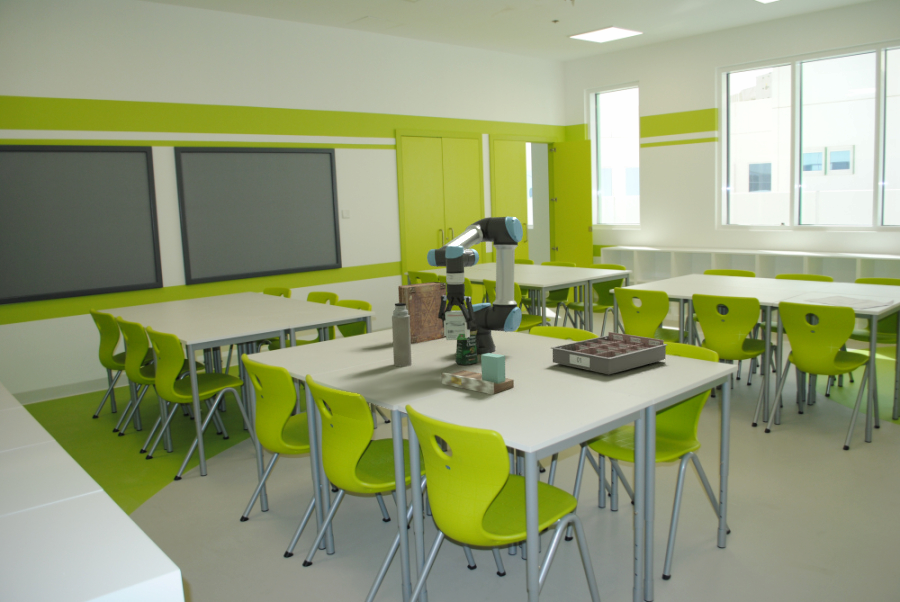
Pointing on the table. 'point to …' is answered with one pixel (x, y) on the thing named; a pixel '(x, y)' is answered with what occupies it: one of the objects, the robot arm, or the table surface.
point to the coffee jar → (467, 348)
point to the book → (423, 309)
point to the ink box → (455, 325)
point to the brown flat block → (475, 382)
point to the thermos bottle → (401, 335)
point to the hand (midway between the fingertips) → (457, 336)
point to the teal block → (493, 367)
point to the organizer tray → (610, 353)
